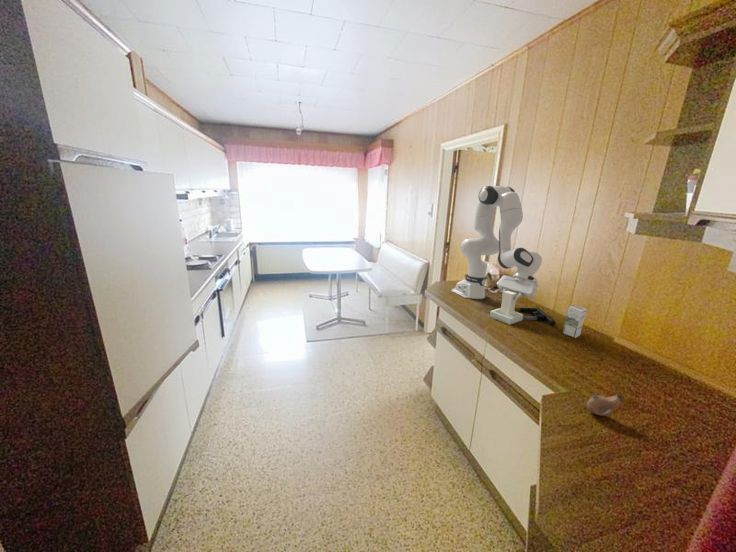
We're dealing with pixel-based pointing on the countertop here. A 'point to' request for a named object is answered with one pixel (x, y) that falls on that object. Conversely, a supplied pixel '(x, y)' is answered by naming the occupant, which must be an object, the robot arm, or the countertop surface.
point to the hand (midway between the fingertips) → (508, 298)
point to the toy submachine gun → (540, 317)
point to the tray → (506, 316)
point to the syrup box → (574, 321)
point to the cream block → (508, 302)
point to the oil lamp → (603, 404)
